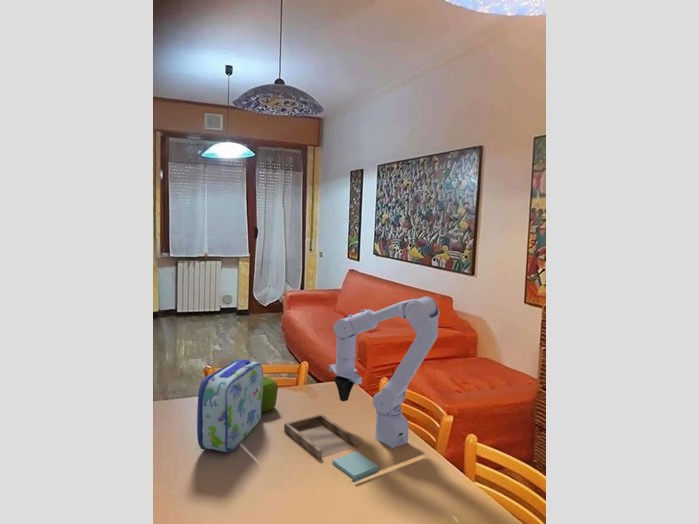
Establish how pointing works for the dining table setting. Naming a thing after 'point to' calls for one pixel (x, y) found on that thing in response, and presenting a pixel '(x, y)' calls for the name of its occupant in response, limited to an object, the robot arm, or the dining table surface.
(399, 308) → the robot arm
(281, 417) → the dining table surface
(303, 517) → the dining table surface
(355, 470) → the teal square tile
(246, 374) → the lunch box
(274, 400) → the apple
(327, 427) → the box
